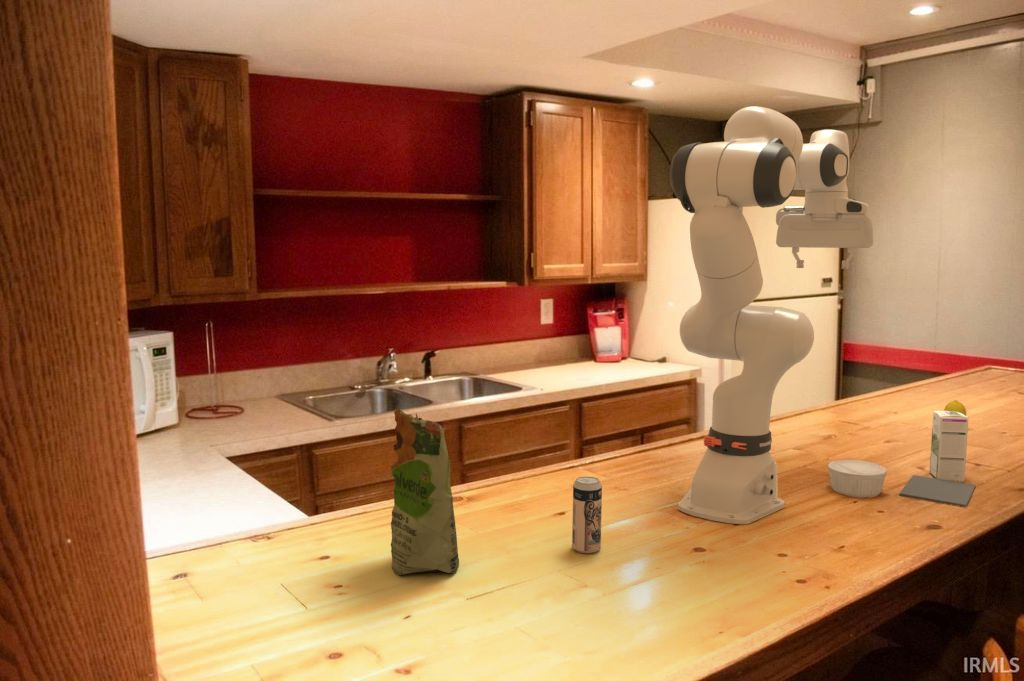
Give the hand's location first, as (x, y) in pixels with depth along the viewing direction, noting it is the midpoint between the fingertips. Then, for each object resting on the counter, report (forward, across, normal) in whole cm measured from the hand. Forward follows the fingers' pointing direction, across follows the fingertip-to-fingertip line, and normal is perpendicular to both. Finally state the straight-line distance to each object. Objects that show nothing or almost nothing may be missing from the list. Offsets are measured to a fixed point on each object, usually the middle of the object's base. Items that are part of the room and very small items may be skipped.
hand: (822, 268), depth 179 cm
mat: (+45, +25, -10) cm, 53 cm away
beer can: (+44, -32, -71) cm, 89 cm away
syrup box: (+46, +28, +2) cm, 53 cm away
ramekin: (+46, +9, -17) cm, 49 cm away
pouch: (+44, -53, -89) cm, 112 cm away
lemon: (+46, +34, +56) cm, 80 cm away
